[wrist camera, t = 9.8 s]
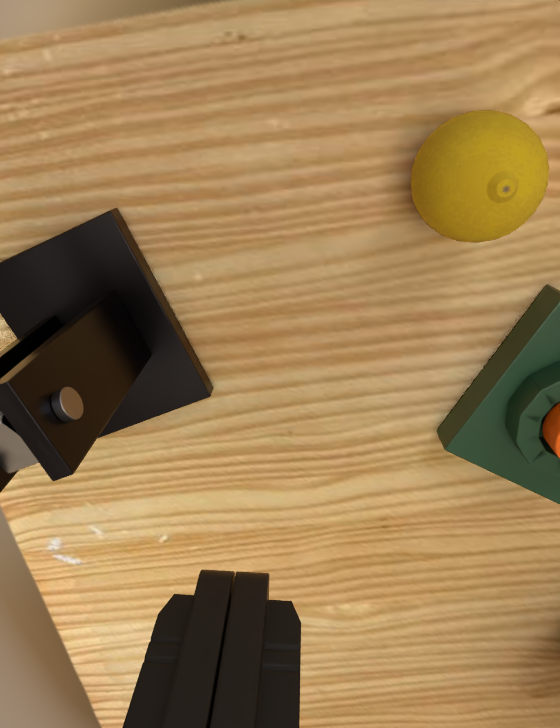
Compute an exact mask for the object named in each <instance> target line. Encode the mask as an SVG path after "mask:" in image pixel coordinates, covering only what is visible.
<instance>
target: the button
mask: <svg viewBox="0 0 560 728" xmlns="http://www.w3.org/2000/svg"><path fill="white" fill-rule="evenodd" d="M543 436H544V438H545V440H546V442H547V443H548V444H549V446H550V447H551V448H552V450H553V451H554V452H555V453H556V455H557V456H558V457H559V459H560V403H558V404H557V405H555V406H554V407H553V408H552V409H551V410H550V411H549V413H548V414H547V416H546V417H545V420H544V423H543Z"/></svg>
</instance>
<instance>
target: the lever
mask: <svg viewBox="0 0 560 728" xmlns="http://www.w3.org/2000/svg"><path fill="white" fill-rule="evenodd" d="M36 463H39V462H38V460H37V459H36V458H35V456H34V455H33V453H32V452H31V451H30V449H29V448H28V447H27V445H26V444H25V443H24V441H23V440H22V438H21V437H20V436H19V434H18V433H17V432H16V430H15V429H14V428H13V426H12V425H11V423H10V422H9V421H8V419H7V418H6V417H5V415H4V414H3V413H2V411H1V410H0V468H1V469H2V470H4V471H5V472H7V473H12V472H15V471H17V470H20V469H23V468H26V467H28V466H31V465H34V464H36Z"/></svg>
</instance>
